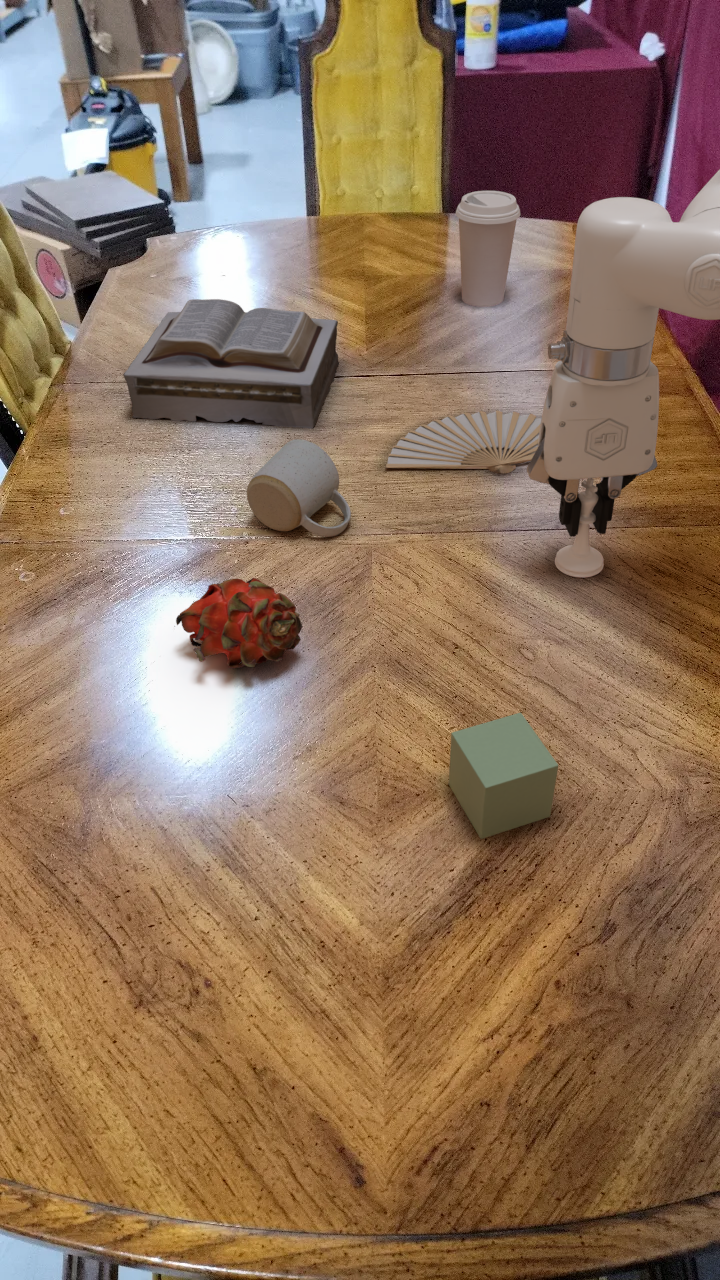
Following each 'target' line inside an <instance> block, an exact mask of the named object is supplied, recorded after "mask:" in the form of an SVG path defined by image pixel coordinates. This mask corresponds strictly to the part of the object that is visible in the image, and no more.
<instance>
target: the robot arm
mask: <svg viewBox="0 0 720 1280" xmlns="http://www.w3.org/2000/svg"><path fill="white" fill-rule="evenodd" d="M575 229H576V230H575V239H574V249H573V259H572V268H571V280H570V287H569V297H568V307H567V316H566V325H565V326H566V327H565V329H564V330H562V331H563V332H562V337H561V339H560V340H558V341H557V342H551V343H548V345H547V357H548V359H549V360H557V362H556V363H555V365H554V368H553V371H552V374H551V377H550V380H549V384H548V387H547V391H546V395H545V399H544V404H543V408H542V414H541V418H542V419H541V425H540V432H539V441H538V449H537V450H536V452H535V454H534V456H533V458H532V459H531V461H529V463H528V464H527V467H526V473H527V476H528V477H529V479H530V480H532V481H535V482H538V483H542V484H544V485H545V484H546V485H549V486H550V487H551V488H552V489H553V490H555V492H557V493H558V494H559V495H560V503H559V509H558V510H559V511H558V519H559V523H560V525H561V526H565V527H564V528H565V529H566V531H567V533H568V535H569V537H576V535H578V529H579V521H580V514H581V506H582V504H581V501H580V499H579V497H578V495H579V493H580V492H579V489H580V483H581V480H585V479H586V480H587V479H588V478H592V479H599V478H600V482H598V483H595V486H596V487H598V489H597V492H595V494H597V495H598V501H597V503H596V505H595V506H594V509H593V510H592V512H593V513H594V514H595V516H596V521H595V522H594V523H592V524H593V525H592V526H593V527H594V529H595V530H596V533H598V534H599V535H605V534H606V533H607V527H608V522H611V521H612V519H613V513H614V507H615V501H616V499H618V498H619V497H620V496H621V493H622V490H623V489H625V488H626V487H627V486H628V485H629V484H631V483H632V482H633V481H635V479H636V478H637V477H640V476H642V475H645V474H648V473H649V472H652V471H654V470H655V469H656V468H657V467H658V461H657V458H656V455H655V454H656V449H657V448H656V447H657V440H658V430H659V429H658V428H659V416H660V415H659V414H660V413H659V411H660V376H659V368H658V366H657V365H655V364H654V363H653V362H652V361H651V359H652V353H653V346H654V341H655V335H656V329H657V322H658V316H659V310H660V309H661V310H664V311H668V312H671V313H675V314H678V315H682V316H684V317H688V318H693V319H696V320H697V319H698V320H705V321H717V320H720V169H718V170H717V172H716V173H715V174H714V175H713V176H712V177H711V178H710V179H709V180H708V182H707V183H706V184H705V185H704V186H702V188H701V189H700V191H699V192H698V193H697V194H696V195H695V197H694V198H693V199H692V200H691V201H690V203H689V204H688V206H686V209H685V210H684V212H683V214H682V215H681V218H680V219H679V221H677V222H674V221H673V220H672V218H671V215H670V213H669V211H668V210H667V209H666V208H665V207H664V206H663V205H662V204H660V203H657V202H655V201H652V200H649V199H647V198H646V199H645V198H640V197H630V196H629V197H628V196H617V197H615V196H614V197H608V198H604V199H599V200H596V201H594V202H591V203H590V204H589V205H587V206H586V207H584V209H583V210H582V212H581V214H580V215H579V218H578V220H577V224H576V228H575Z"/></svg>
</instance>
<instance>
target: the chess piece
mask: <svg viewBox="0 0 720 1280" xmlns="http://www.w3.org/2000/svg"><path fill="white" fill-rule="evenodd" d="M594 480H595V478H588V479H586V480H583V481H581V482H580V483H581V484H580V486H581V487H583V488H584V489H585V490H584V491H581V492H578V493H579V495H578V497H579V499H580V501H581V504H582V506H581V514H580V521H579V529H578V535H576V536H575V538H574V542H573V544H568V545H566V546H563V547H562V548H560V549H558V551H557V552H556V554H555V558H554V565H555V567H556V568H557V569H558V571H560V572H561V573H562V574H564V575H567V576H570V577H573V578H591V577H593V576H596V575H598V574H599V573H602V571H603V570H604V565H605V563H604V556H603V554H602V553H601V552H600V551H599V550H598V549H596V548H594V547H593V546H590V525H592V524H593V523H594V522H595V521H596V516H595V514H594V513H593V512H592V510H593V509H594V506H595V505H596V503H597V501H598V495H597V494H595V492H597V489H598V487H596V485H595V484H594Z"/></svg>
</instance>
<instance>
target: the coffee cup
mask: <svg viewBox="0 0 720 1280" xmlns="http://www.w3.org/2000/svg"><path fill="white" fill-rule="evenodd" d="M455 216H456V217H457V219H458V233H459V256H460V257H459V258H460V259H459V260H460V285H461V286H460V287H461V300H462V302H463V303H465V304H466V305H469V306H473V307H477V308H478V307H479V308H488V307H494V306H495V307H496V306H498V305H500V304H501V303H503V302H504V298H505V291H506V286H507V281H508V273H509V268H510V263H511V262H510V261H511V256H512V249H513V245H514V237H515V231H516V225H517V220H518V219H519V218H520V217H521V209H520V206H519V204H518V203H517V198H516V197H515V196H514V195H513V194H512V193H508V192H505V191H499V190H477V191H472V192H468V193H466V194H464V195H463V196H462V197H461V200H460V202H459V203H458V204H457V207H456V209H455Z"/></svg>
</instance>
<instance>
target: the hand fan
mask: <svg viewBox="0 0 720 1280" xmlns="http://www.w3.org/2000/svg"><path fill="white" fill-rule="evenodd" d="M541 419H542V417H537V415H535V414H533V413H529V414H520V413H519V412H516V411H513V412H512V411H511V412H509V413H508V412H507V413H503V411H501V410H495V411H493V412H489V413H487V412H486V411H482V410H478V412H474V413H472V414H471V413H470V412H463V413H461V414H459V415H457V416H455V415H449V414H447V416H446V417H444V418H442V419H438V418H433V420H432V421H431V422H429V423H428V424H425V423H423V424H420V425H419V426H418V427H417V428H416V429H415V430H412V429H411V430H408V433H406V435H405V436H403V437H402V436H401V437H399V440H398V441H397V444H394V445H392V446H391V447H392V449H391V452H390V453H388V454H387V456H388V457H387V463H386V464H385V468H386V469H453V470H454V469H457V470H458V469H463V470H465V469H466V470H469V469H470V470H473V469H474V470H482V469H483V470H488V471H489V472H491V473H496V472H497V474H500V475H501V474H502V475H503V474H504V475H507V474H510V473H512V472H513V471H515V470H516V468H517V467H516V465H517V464H521V463H527V462H530V461H531V459H532V458H533V456H534V454H535V452H536V450H537V449H538V441H539V432H540V425H541Z"/></svg>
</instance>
